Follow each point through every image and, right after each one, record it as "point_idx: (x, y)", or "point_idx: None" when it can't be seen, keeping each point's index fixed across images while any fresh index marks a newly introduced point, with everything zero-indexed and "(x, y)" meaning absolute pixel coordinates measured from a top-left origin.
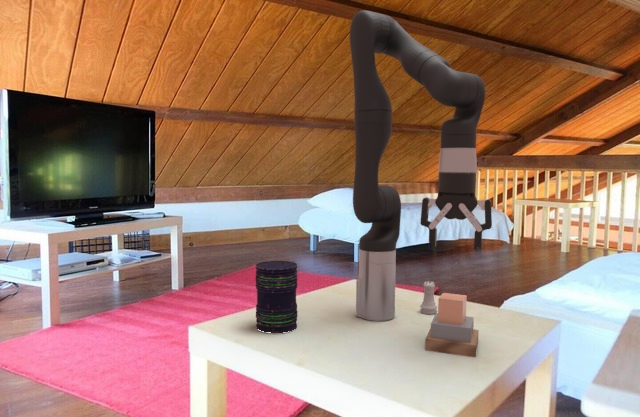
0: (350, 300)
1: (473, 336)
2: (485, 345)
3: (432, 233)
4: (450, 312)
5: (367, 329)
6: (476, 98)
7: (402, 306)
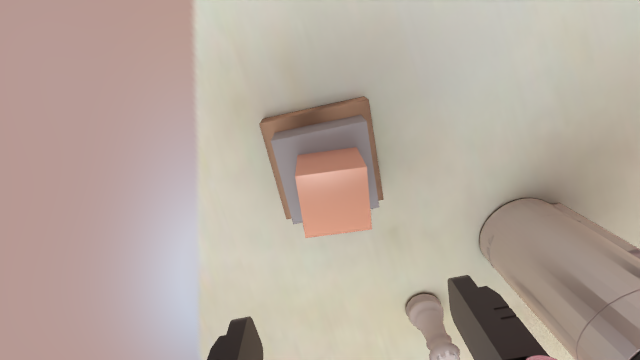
0: None
1: None
2: (267, 191)
3: (507, 332)
4: (327, 159)
5: (514, 145)
6: None
7: None
